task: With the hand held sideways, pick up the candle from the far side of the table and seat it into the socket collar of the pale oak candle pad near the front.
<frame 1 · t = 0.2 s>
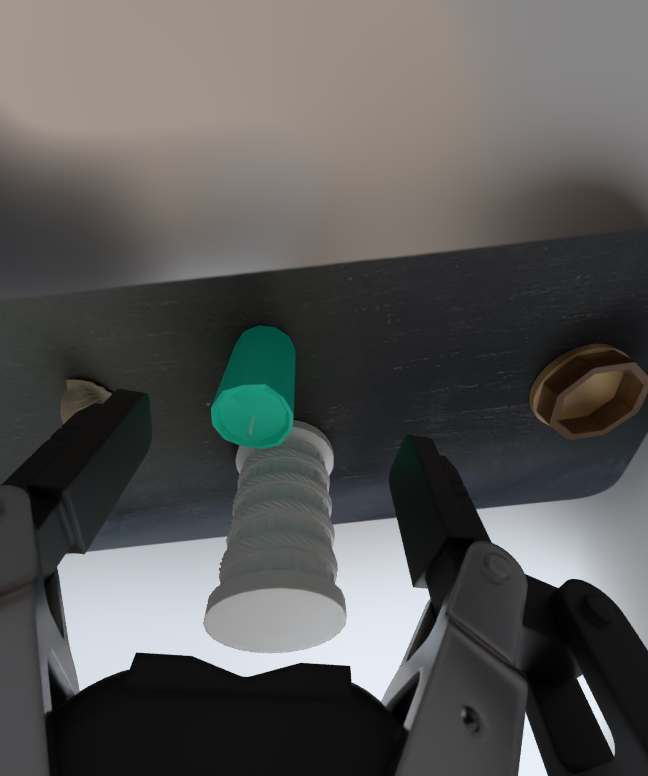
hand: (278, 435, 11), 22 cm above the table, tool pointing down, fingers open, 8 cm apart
decorative ornament: (102, 408, 35), on the table
candle: (265, 352, 33), on the table
decorative container: (285, 455, 41), on the table
candle pad: (576, 385, 37), on the table
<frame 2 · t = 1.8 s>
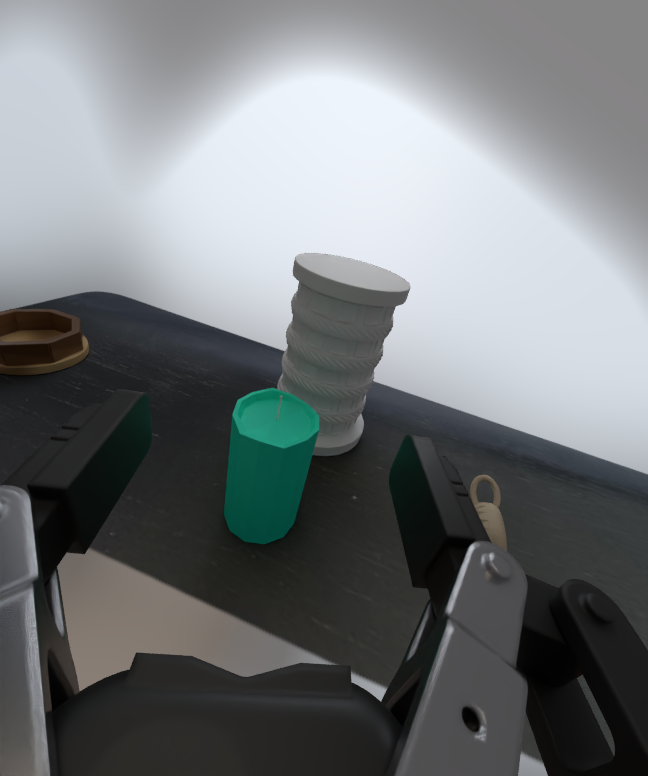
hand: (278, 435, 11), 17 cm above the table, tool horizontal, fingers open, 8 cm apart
decorative ornament: (471, 553, 29), on the table
candle: (260, 512, 28), on the table
decorative container: (314, 422, 40), on the table
candle pad: (36, 352, 40), on the table
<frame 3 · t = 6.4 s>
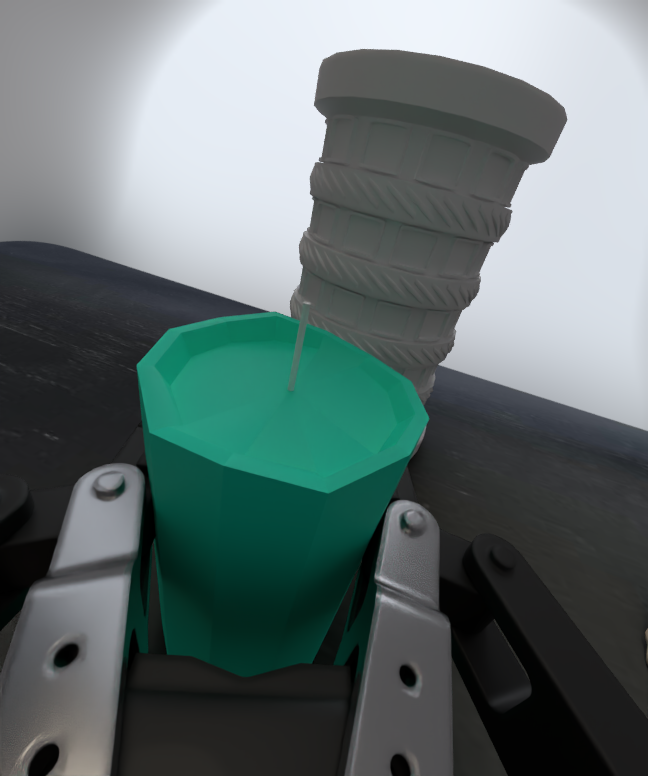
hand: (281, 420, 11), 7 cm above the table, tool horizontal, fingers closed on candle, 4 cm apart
candle: (249, 609, 13), on the table, touching gripper
decorative container: (342, 415, 25), on the table
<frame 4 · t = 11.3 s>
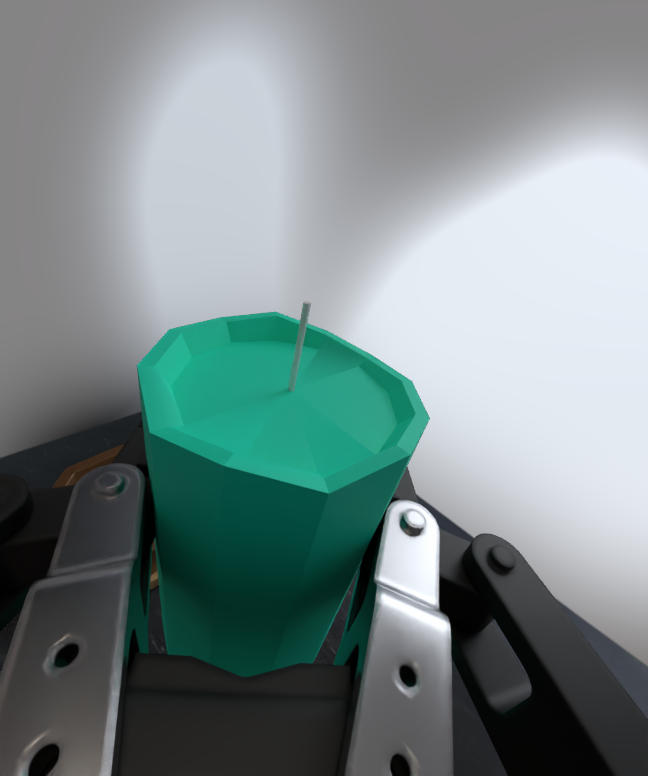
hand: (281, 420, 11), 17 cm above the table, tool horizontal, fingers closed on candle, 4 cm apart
candle: (249, 610, 13), point 10 cm above the table, touching gripper
candle pad: (133, 525, 24), on the table
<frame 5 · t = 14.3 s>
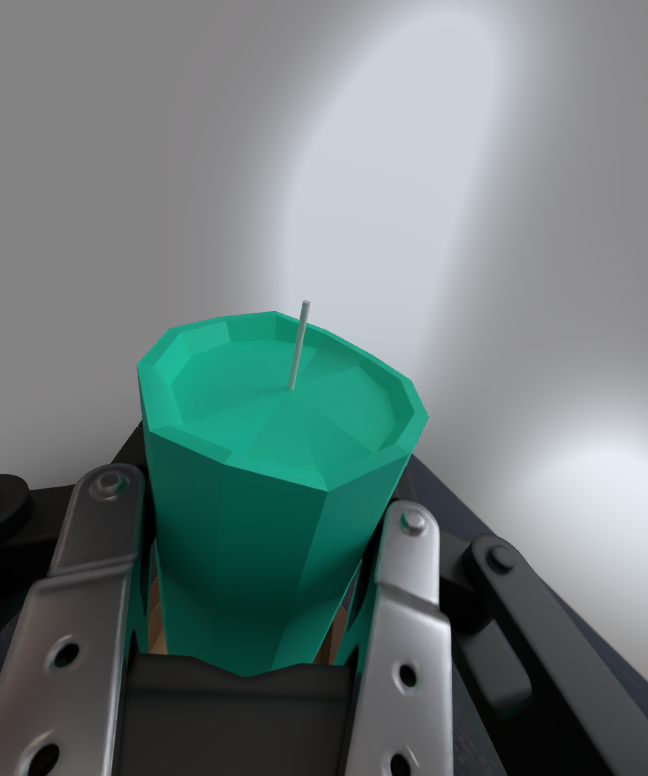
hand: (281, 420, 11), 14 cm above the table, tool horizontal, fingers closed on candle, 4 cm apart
candle: (249, 609, 13), point 6 cm above the table, touching gripper
candle pad: (235, 667, 16), on the table
when the fingers open (8 cm above the table, at t = 16.3 s): candle stays where it is, resting on candle pad.
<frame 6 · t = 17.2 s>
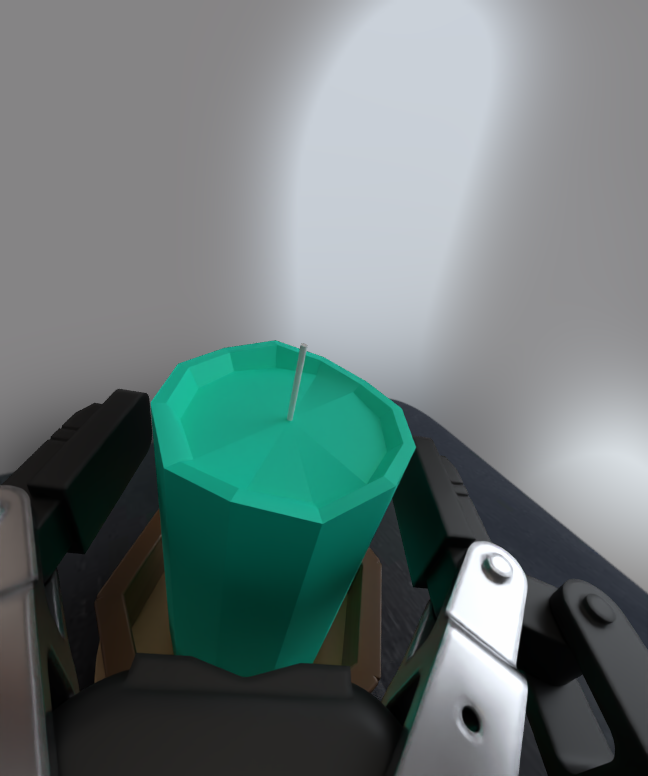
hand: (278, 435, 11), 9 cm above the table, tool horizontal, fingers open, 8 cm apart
candle: (251, 616, 13), point 1 cm above the table, touching candle pad
candle pad: (247, 622, 14), on the table
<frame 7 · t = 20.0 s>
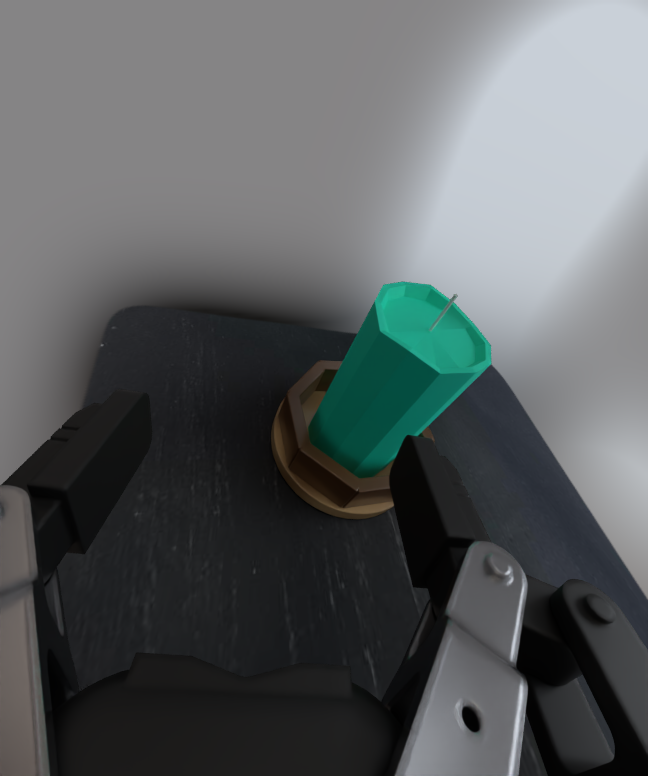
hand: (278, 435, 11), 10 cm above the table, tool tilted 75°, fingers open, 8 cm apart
candle: (348, 440, 23), point 1 cm above the table, touching candle pad
candle pad: (343, 444, 23), on the table
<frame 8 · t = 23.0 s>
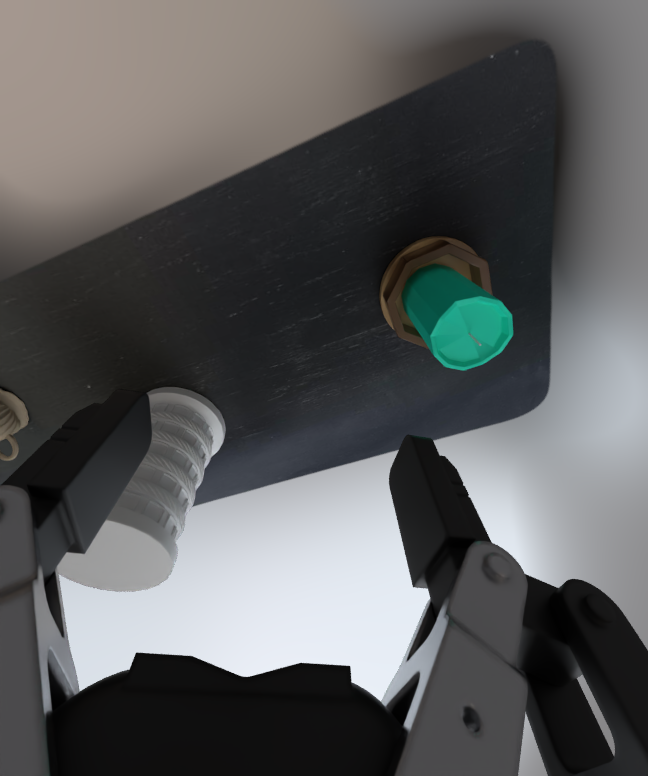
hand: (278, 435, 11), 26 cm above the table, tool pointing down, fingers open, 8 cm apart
decorative ornament: (11, 407, 41), on the table
candle: (430, 293, 34), point 1 cm above the table, touching candle pad
decorative container: (181, 423, 43), on the table
candle pad: (429, 290, 34), on the table
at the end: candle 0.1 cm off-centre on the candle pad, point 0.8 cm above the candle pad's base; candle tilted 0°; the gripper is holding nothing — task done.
